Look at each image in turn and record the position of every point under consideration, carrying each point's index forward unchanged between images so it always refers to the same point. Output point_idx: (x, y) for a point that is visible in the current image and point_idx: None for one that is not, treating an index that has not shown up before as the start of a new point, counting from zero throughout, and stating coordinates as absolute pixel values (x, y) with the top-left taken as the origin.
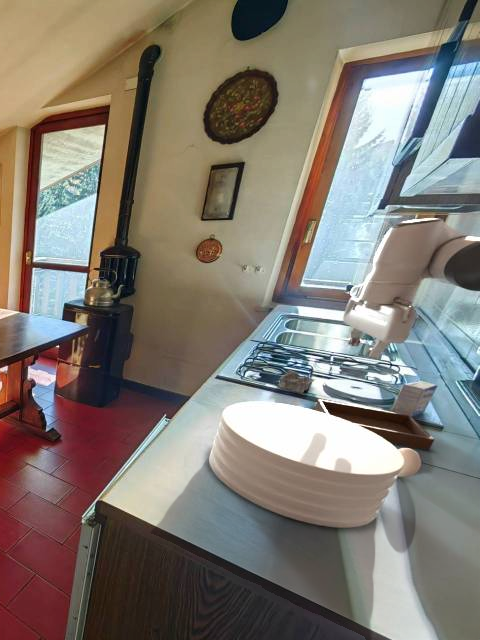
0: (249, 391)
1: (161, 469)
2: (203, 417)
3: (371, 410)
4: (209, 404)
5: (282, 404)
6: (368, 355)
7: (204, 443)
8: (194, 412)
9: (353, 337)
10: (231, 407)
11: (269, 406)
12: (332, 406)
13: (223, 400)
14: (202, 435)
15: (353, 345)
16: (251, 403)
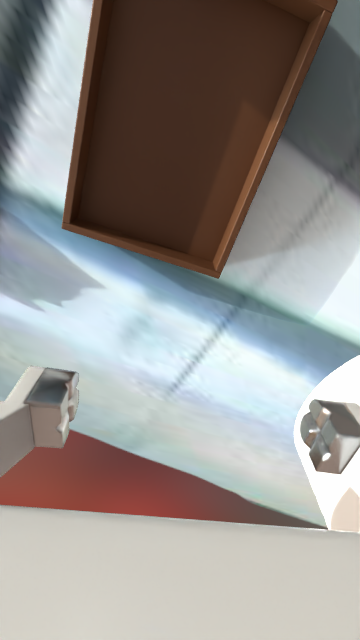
0: (9, 340)
1: None
2: (201, 455)
3: (94, 64)
4: (136, 434)
5: (346, 494)
6: (304, 423)
7: (294, 473)
8: (182, 461)
9: (25, 441)
10: None
11: (355, 513)
12: (78, 186)
13: (103, 408)
14: (269, 469)
15: (76, 392)
16: (338, 529)
